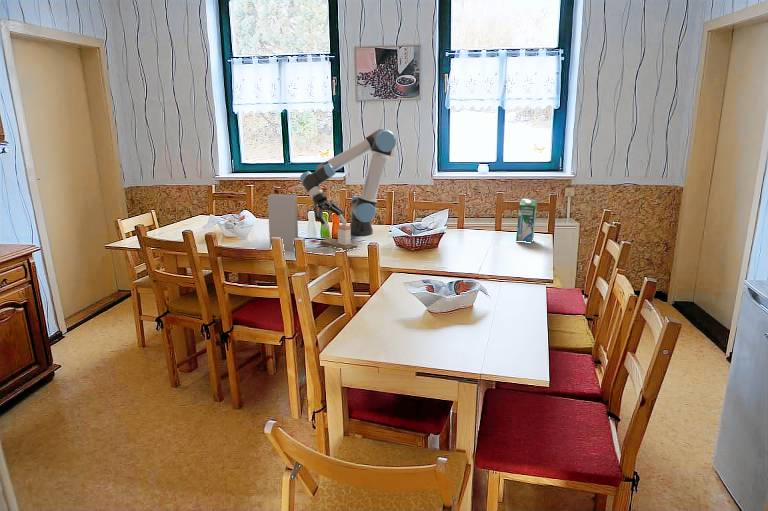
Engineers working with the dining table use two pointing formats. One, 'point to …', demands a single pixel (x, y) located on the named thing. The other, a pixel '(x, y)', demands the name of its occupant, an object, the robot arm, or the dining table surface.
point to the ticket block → (334, 243)
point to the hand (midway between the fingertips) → (336, 226)
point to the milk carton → (526, 220)
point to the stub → (344, 234)
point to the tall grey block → (283, 219)
